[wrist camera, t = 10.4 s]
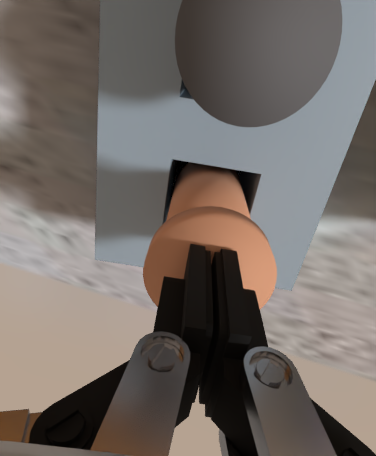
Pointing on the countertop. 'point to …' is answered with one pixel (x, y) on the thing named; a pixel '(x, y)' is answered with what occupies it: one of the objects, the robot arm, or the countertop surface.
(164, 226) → the terracotta plug
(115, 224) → the socket block
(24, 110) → the countertop surface
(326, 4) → the black plug middle
